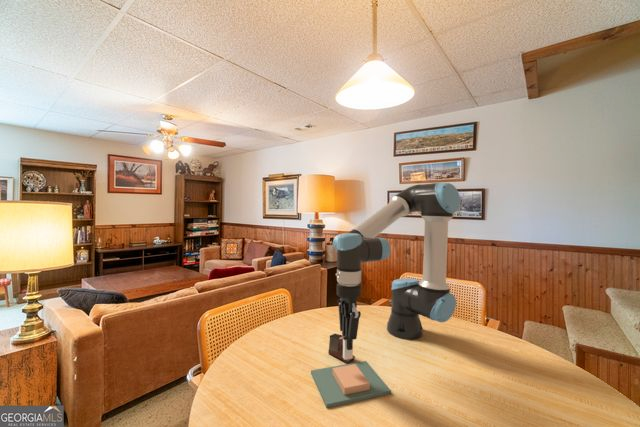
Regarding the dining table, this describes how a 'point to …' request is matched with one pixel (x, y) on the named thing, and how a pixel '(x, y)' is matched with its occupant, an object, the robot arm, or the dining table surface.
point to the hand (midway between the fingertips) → (347, 357)
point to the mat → (333, 392)
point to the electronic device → (337, 347)
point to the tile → (350, 379)
